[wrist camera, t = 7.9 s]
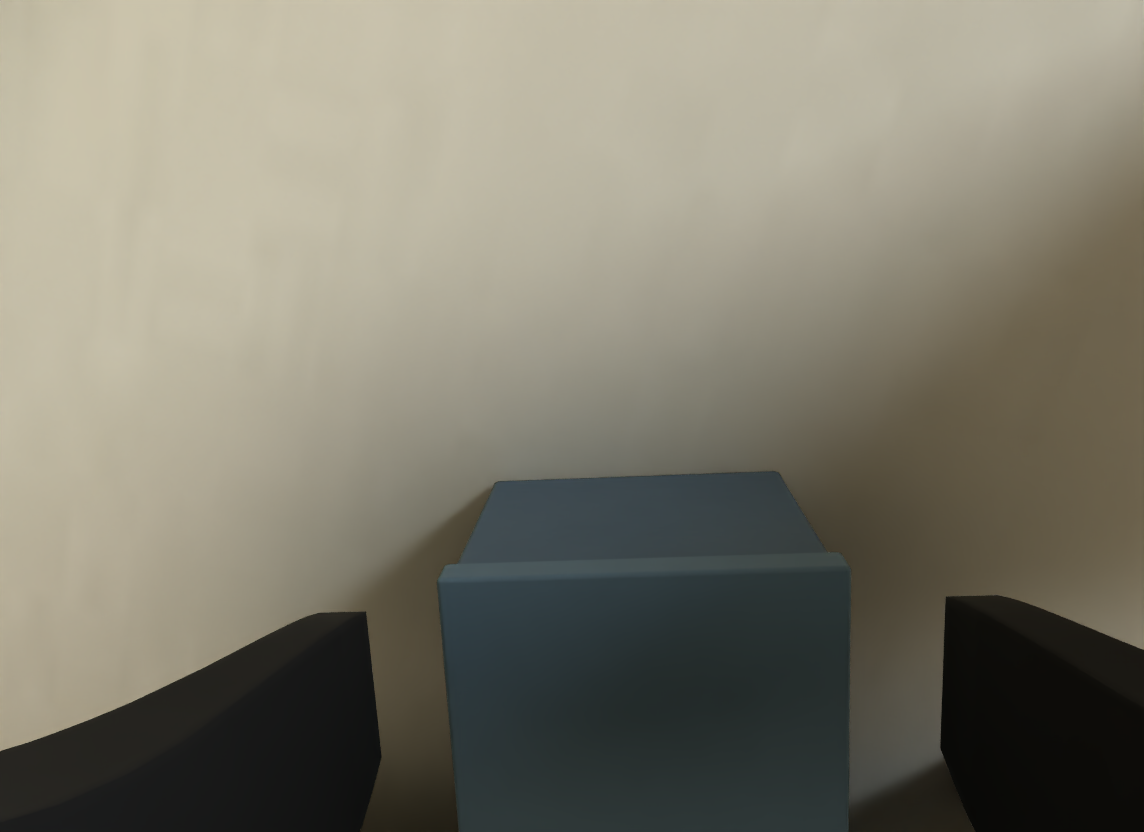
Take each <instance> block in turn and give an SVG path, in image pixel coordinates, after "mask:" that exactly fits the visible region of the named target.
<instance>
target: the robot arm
mask: <svg viewBox="0 0 1144 832" xmlns="http://www.w3.org/2000/svg"><path fill="white" fill-rule="evenodd" d="M940 749H941V751H942V754H943V756H944V759H945V762H946V764H947V767H948V770H949V772H950V775H951V777H952V780H953V783H954V785H955V788H956V790H957V792H958V795H959V797H960V800H961V802H962V804H963V807H964V809H965V811H966V814H967V816H968V819H969V821H970V822H971V824H972V826H973V828H974V830H975V832H1144V650H1142V649H1140V648H1137V647H1135V646H1132V645H1130V644H1127V643H1125V642H1122V641H1120V640H1118V639H1115V638H1113V637H1110V636H1108V635H1105V634H1103V633H1100V632H1098V631H1096V630H1093V629H1091V628H1088V627H1086V626H1083V625H1081V624H1078V623H1076V622H1074V621H1071V620H1069V619H1066V618H1064V617H1061V616H1059V615H1056V614H1054V613H1051V612H1049V611H1046V610H1044V609H1041V608H1038V607H1036V606H1033V605H1030V604H1027V603H1024V602H1021V601H1018V600H1015V599H1012V598H1008V597H1003V596H999V595H986V596H948V597H946V601H945V630H944V659H943V687H942V716H941V745H940ZM380 761H381V747H380V738H379V729H378V719H377V710H376V700H375V691H374V682H373V672H372V663H371V654H370V644H369V635H368V625H367V616H366V612H331V613H317V614H314V615H310V616H307V617H305V618H302V619H300V620H298V621H295V622H293V623H291V624H289V625H287V626H285V627H282V628H280V629H278V630H276V631H274V632H272V633H270V634H268V635H266V636H265V637H263V638H261V639H259V640H257V641H255V642H253V643H251V644H249V645H247V646H245V647H243V648H241V649H239V650H237V651H236V652H234V653H232V654H230V655H228V656H226V657H224V658H222V659H220V660H218V661H216V662H214V663H212V664H210V665H208V666H207V667H205V668H203V669H201V670H198V671H196V672H194V673H192V674H190V675H188V676H186V677H184V678H182V679H180V680H177V681H175V682H173V683H171V684H169V685H167V686H165V687H163V688H161V689H159V690H156V691H154V692H152V693H150V694H148V695H146V696H144V697H142V698H140V699H138V700H135V701H133V702H131V703H129V704H126V705H124V706H122V707H120V708H117V709H115V710H113V711H110V712H108V713H105V714H103V715H100V716H98V717H96V718H93V719H91V720H88V721H85V722H83V723H80V724H77V725H75V726H72V727H69V728H67V729H64V730H62V731H59V732H56V733H54V734H51V735H48V736H46V737H43V738H40V739H37V740H34V741H31V742H28V743H25V744H22V745H19V746H15V747H12V748H9V749H6V750H2V751H0V832H360V830H361V827H362V824H363V821H364V818H365V814H366V811H367V808H368V804H369V801H370V798H371V794H372V791H373V787H374V783H375V779H376V776H377V772H378V768H379V765H380Z"/></svg>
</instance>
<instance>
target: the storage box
mask: <svg viewBox="0 0 1144 832" xmlns="http://www.w3.org/2000/svg"><path fill="white" fill-rule="evenodd" d="M437 590H438V601H439V612H440V624H441V635H442V646H443V657H444V669H445V680H446V691H447V702H448V714H449V725H450V736H451V748H452V759H453V770H454V781H455V793H456V804H457V815H458V827H459V832H848V811H849V717H850V624H851V568H850V566H849V565H848V563H847V562H846V560H845V559H844V557H843V555H842V554H841V553H838V552H827V551H826V549H825V547H824V546H823V544H822V542H821V541H820V539H819V538H818V536H817V534H816V533H815V531H814V529H813V528H812V526H811V525H810V523H809V521H808V520H807V518H806V516H805V515H804V513H803V511H802V510H801V508H800V507H799V505H798V503H797V502H796V500H795V498H794V497H793V495H792V494H791V492H790V490H789V489H788V487H787V485H786V484H785V482H784V481H783V479H782V477H781V476H780V474H779V473H778V472H775V471H771V472H744V473H717V474H689V475H662V476H635V477H608V478H581V479H553V480H526V481H499V482H496V483H495V484H494V486H493V489H492V491H491V493H490V495H489V497H488V499H487V501H486V503H485V506H484V508H483V510H482V512H481V514H480V516H479V518H478V520H477V523H476V525H475V527H474V529H473V531H472V533H471V535H470V537H469V540H468V542H467V544H466V546H465V548H464V550H463V552H462V554H461V557H460V559H459V561H458V563H457V564H448V565H445V566H444V568H443V570H442V572H441V574H440V576H439V578H438V580H437Z"/></svg>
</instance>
